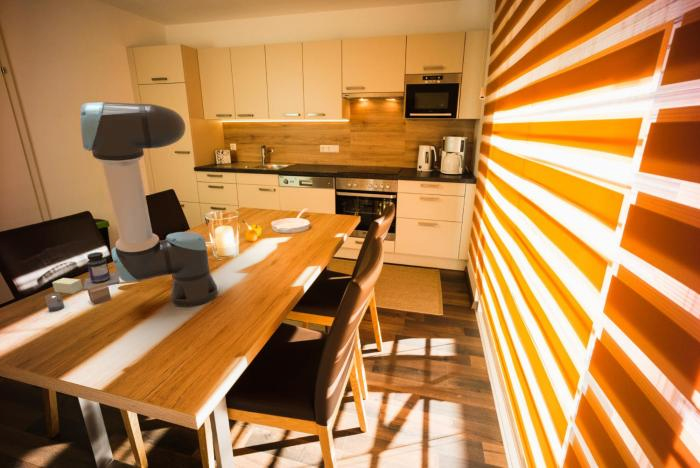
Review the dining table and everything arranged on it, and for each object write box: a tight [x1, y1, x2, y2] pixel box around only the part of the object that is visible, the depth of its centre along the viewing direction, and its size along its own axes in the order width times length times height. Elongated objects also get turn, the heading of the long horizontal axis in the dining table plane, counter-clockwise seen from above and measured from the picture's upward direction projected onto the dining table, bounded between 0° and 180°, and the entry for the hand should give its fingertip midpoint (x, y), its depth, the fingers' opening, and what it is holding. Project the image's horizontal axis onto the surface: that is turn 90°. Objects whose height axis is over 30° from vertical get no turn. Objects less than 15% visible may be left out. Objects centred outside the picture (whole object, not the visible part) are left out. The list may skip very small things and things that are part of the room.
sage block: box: [51, 277, 84, 295], centre depth 124 cm, size 8×4×4 cm, turn 79°
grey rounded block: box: [44, 292, 65, 313], centre depth 111 cm, size 4×4×5 cm
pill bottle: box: [86, 251, 111, 283], centre depth 130 cm, size 6×6×11 cm
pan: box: [270, 207, 311, 234], centre depth 209 cm, size 24×43×6 cm, turn 169°
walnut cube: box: [86, 283, 112, 306], centre depth 117 cm, size 5×5×5 cm
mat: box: [82, 272, 120, 291], centre depth 131 cm, size 11×11×1 cm
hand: (134, 202), depth 136 cm, fingers open, 13 cm apart
